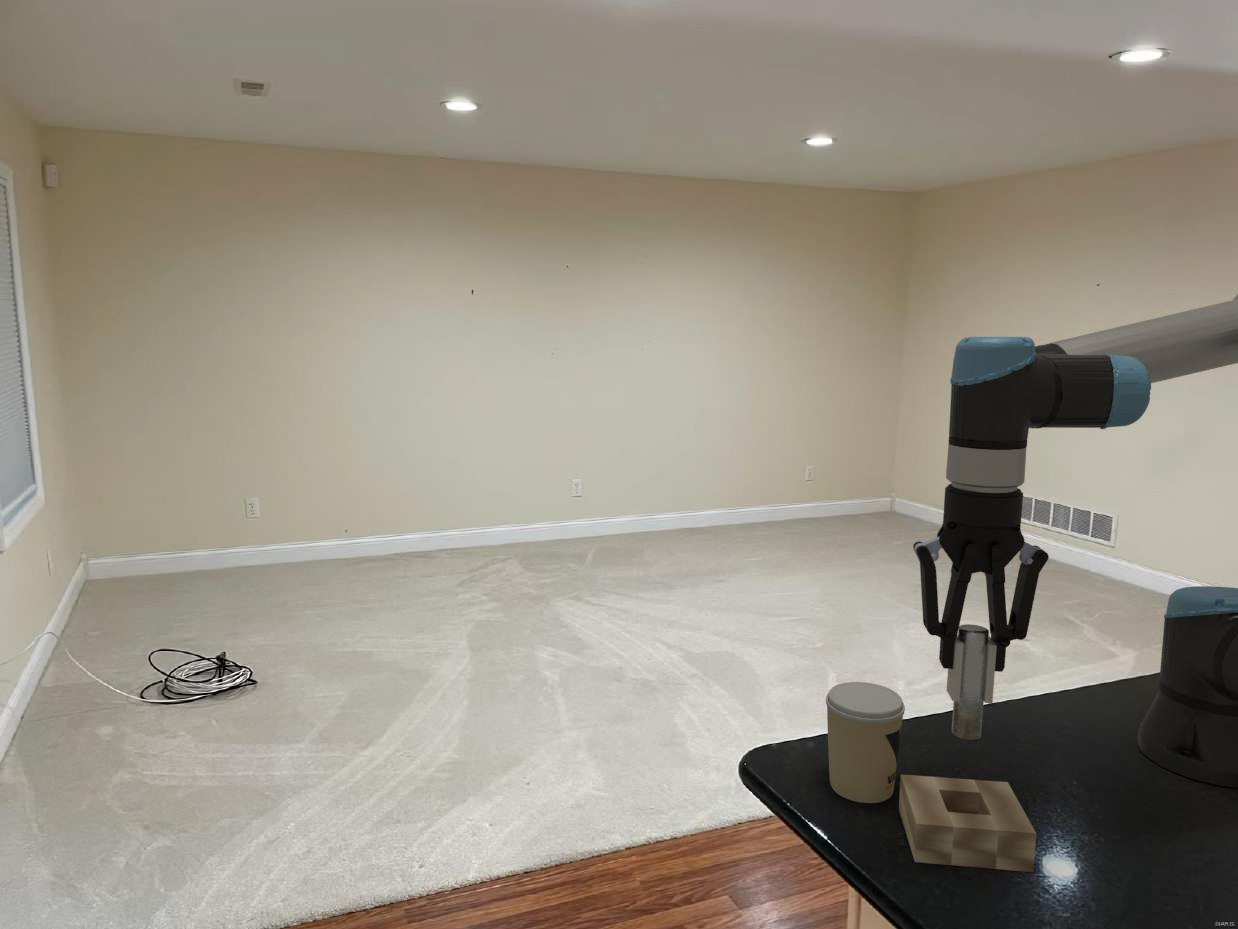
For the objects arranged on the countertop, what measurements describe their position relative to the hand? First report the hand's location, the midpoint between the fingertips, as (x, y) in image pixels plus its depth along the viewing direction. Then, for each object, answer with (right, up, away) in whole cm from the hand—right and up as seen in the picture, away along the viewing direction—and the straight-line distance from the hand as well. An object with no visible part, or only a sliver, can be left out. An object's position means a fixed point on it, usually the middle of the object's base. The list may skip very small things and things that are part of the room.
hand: (969, 696), depth 90 cm
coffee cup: (-8, -15, +14) cm, 22 cm away
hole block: (0, -17, +3) cm, 17 cm away
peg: (0, -4, +1) cm, 4 cm away
